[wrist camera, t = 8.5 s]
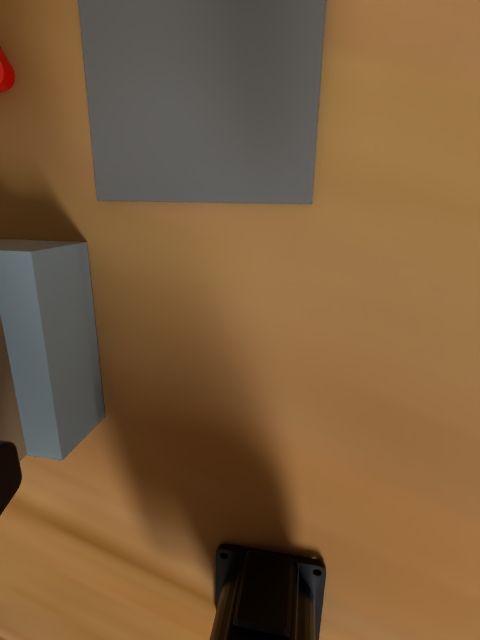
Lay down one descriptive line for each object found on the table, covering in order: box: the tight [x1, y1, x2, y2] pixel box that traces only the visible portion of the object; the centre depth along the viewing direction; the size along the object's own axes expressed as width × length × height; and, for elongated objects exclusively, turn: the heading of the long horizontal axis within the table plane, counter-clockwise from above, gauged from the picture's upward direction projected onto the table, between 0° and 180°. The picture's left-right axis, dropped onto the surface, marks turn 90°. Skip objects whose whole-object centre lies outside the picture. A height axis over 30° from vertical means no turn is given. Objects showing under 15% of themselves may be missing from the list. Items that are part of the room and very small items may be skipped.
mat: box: [78, 0, 326, 204], centre depth 16 cm, size 10×10×1 cm
